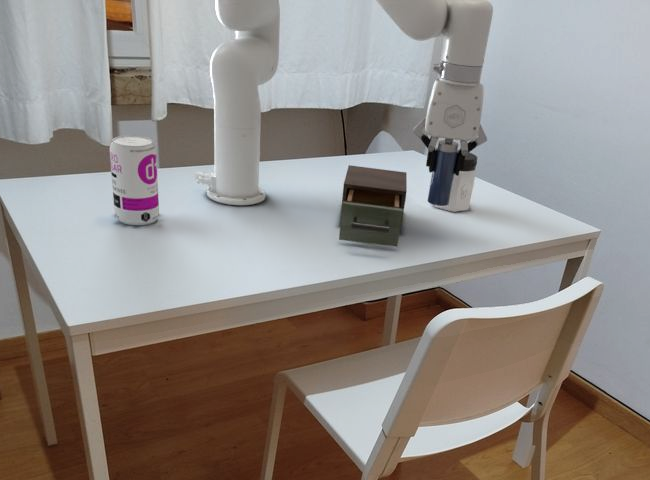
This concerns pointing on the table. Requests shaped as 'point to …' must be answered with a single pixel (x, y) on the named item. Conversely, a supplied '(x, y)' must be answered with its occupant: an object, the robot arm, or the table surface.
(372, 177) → the cabinet
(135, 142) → the supplement can
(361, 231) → the drawer
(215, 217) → the table surface
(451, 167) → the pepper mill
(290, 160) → the table surface
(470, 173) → the jar
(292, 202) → the table surface
